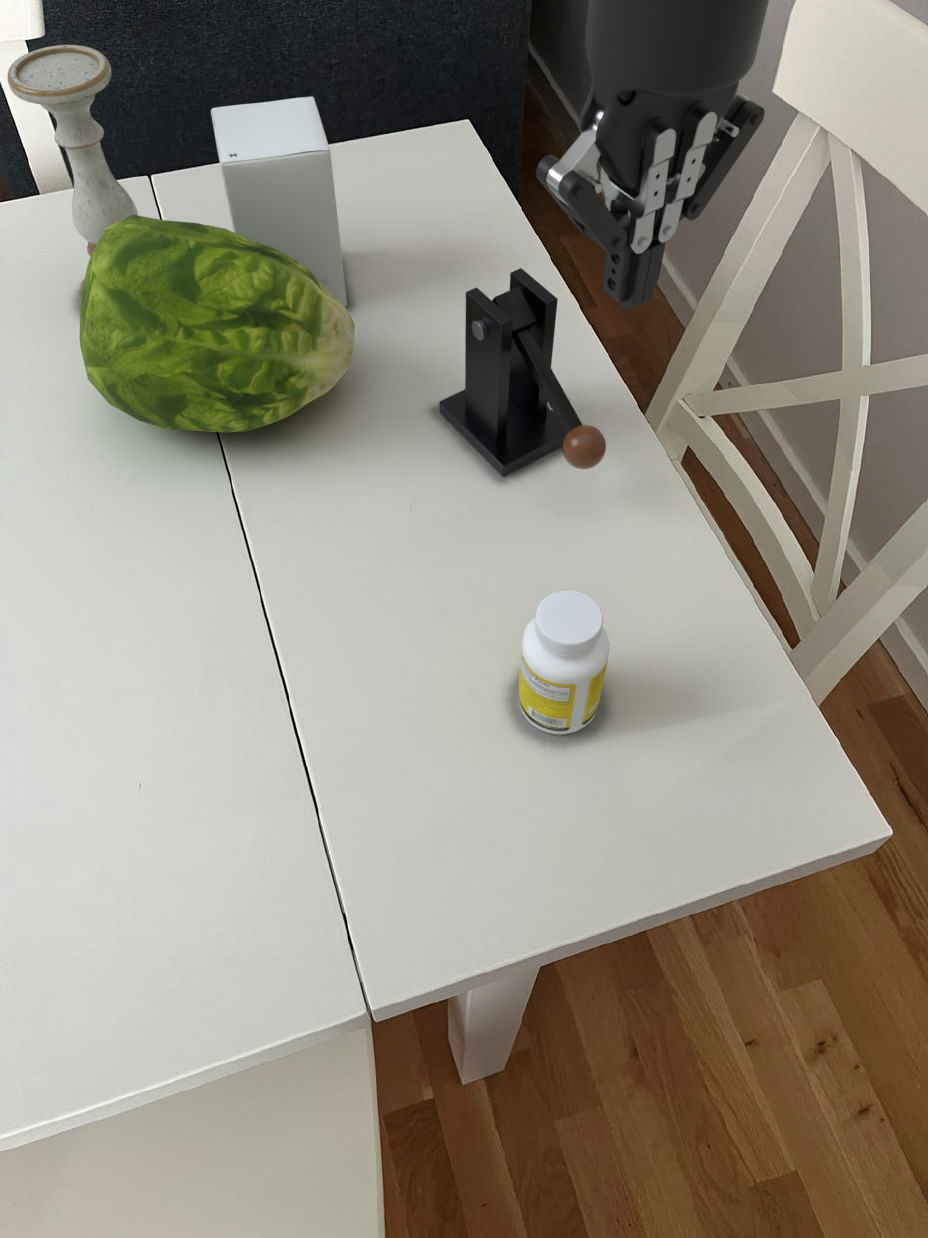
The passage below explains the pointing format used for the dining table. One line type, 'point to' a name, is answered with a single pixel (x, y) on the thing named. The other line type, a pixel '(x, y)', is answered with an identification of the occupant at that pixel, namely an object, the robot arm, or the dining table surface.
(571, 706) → the supplement bottle
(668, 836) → the dining table surface
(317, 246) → the rectangular carton
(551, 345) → the bracket
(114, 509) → the dining table surface
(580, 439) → the lever
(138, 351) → the lettuce
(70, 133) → the candle holder
